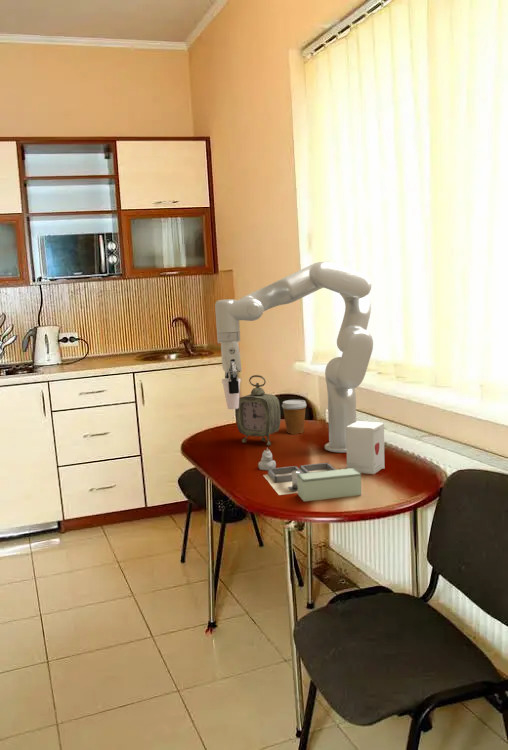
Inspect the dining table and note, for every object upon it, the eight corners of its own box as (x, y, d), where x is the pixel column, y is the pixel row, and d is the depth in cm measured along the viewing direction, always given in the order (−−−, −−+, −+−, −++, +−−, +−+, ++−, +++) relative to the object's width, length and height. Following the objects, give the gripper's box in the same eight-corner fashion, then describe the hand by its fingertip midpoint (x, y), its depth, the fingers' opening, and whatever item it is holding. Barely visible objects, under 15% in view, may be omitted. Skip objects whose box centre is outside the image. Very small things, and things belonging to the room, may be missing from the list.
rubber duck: (263, 475, 216) (262, 450, 214) (255, 470, 222) (254, 445, 220) (279, 472, 217) (278, 447, 216) (271, 467, 224) (270, 443, 222)
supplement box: (374, 478, 207) (373, 428, 205) (346, 475, 212) (344, 426, 210) (385, 470, 215) (384, 422, 213) (358, 467, 220) (357, 420, 217)
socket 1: (296, 471, 214) (296, 465, 213) (304, 479, 205) (304, 473, 205) (268, 474, 212) (267, 468, 212) (274, 483, 203) (274, 476, 203)
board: (333, 471, 216) (332, 467, 216) (355, 490, 197) (355, 485, 196) (263, 479, 212) (262, 474, 211) (279, 499, 192) (278, 494, 192)
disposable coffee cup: (308, 434, 266) (307, 403, 264) (283, 435, 266) (281, 404, 264) (306, 429, 275) (305, 398, 273) (282, 430, 275) (281, 400, 273)
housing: (353, 492, 195) (353, 467, 194) (361, 498, 189) (360, 473, 188) (298, 498, 192) (297, 473, 191) (304, 505, 186) (303, 480, 185)
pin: (299, 487, 198) (299, 470, 197) (302, 489, 196) (301, 472, 195) (291, 488, 198) (290, 470, 197) (293, 490, 195) (292, 473, 195)
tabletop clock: (237, 443, 257) (233, 376, 253) (251, 438, 264) (247, 372, 261) (270, 447, 249) (267, 377, 245) (284, 441, 256) (281, 374, 253)
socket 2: (328, 468, 215) (328, 462, 215) (337, 476, 207) (337, 470, 207) (300, 471, 214) (299, 465, 213) (308, 479, 205) (308, 473, 205)
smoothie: (240, 409, 229) (237, 367, 227) (221, 410, 231) (218, 367, 229) (244, 406, 236) (242, 364, 234) (226, 406, 237) (223, 365, 235)
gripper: (245, 338, 222) (248, 394, 225) (235, 334, 239) (238, 386, 242) (221, 340, 221) (225, 397, 223) (213, 336, 237) (216, 388, 240)
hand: (232, 391), depth 232 cm, fingers closed on smoothie, 6 cm apart
